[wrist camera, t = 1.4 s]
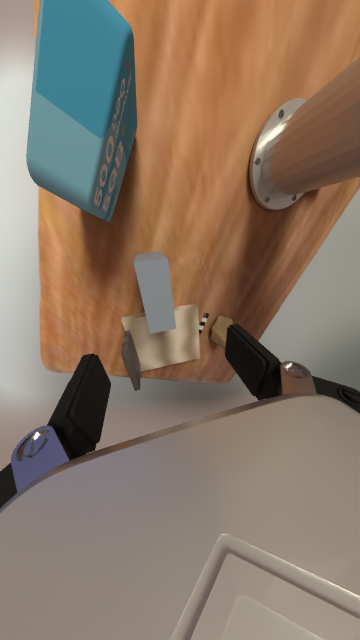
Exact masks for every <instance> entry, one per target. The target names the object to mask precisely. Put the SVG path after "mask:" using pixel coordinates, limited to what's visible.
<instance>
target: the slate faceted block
mask: <svg viewBox="0 0 360 640" xmlns="http://www.w3.org/2000/svg"><path fill="white" fill-rule="evenodd" d="M134 267H135V271H136V275H137V280H138V284H139V288H140V293H141V297H142V302H143V306H144V310H145V315H146V319H147V323H148V328H149V332H150V334H151V333H157V332H162V331H167V330H172V329H176V323H175V314H174V306H173V297H172V288H171V280H170V271H169V263H168V258H167V257H166V256H164V255H163V254H162V253H161V252H159V251H157V252H148V253H139V254H136V257H135V260H134Z"/></svg>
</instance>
